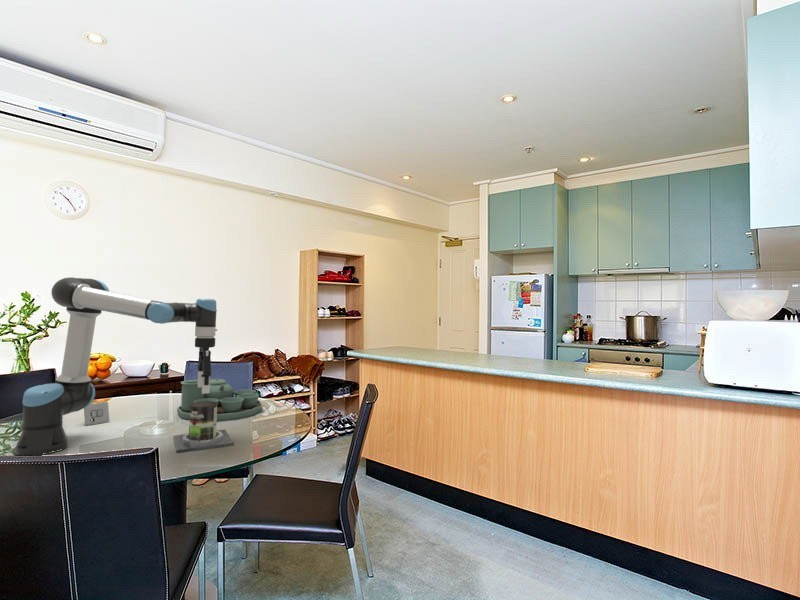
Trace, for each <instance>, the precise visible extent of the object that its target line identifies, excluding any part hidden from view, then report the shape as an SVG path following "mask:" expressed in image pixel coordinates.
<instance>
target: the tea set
mask: <svg viewBox="0 0 800 600" xmlns="http://www.w3.org/2000/svg"><path fill="white" fill-rule="evenodd" d="M180 384H181V403H180V405H179V406H178V407H177V408H176V412H177V414H178V416H179V417H180V418H181V419H183V420H184V419H185V420H188V421H190V404H192V403H195V402H202V401H212V402H217V403H218V405H217V422H221V421H233V420H239V419H242V418H247V417H252V416H254V415H255V414H257V413H259V412H261V410H262V408H263V407H262V402H261V400H259V398H260V394H259V393H256V390H255V389H248V388H247V389H237V390H235V391H234V387H233V386H232V385H230V384H229V383H227V380H225V379H222V378H219V377H215V378H212V379H210V393H205V394H202V387H198V379H189V380H183V381H180Z"/></svg>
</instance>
